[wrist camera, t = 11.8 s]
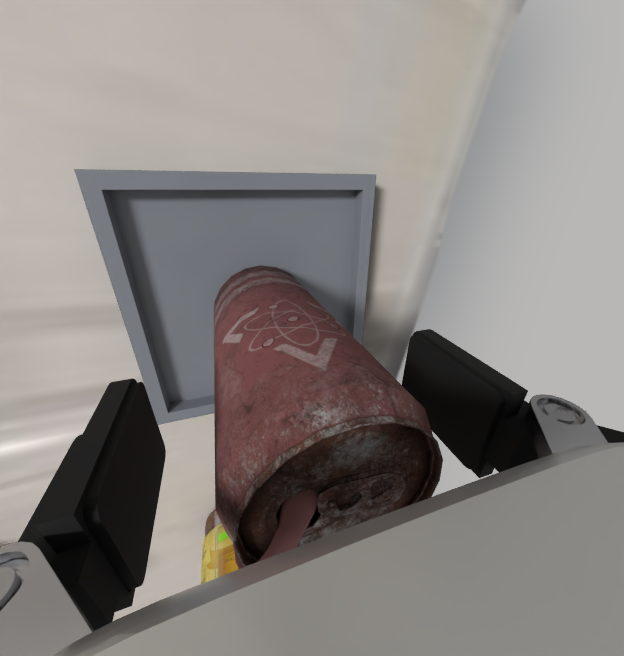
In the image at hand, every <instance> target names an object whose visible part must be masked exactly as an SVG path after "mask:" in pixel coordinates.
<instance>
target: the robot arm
mask: <svg viewBox="0 0 624 656" xmlns="http://www.w3.org/2000/svg"><path fill="white" fill-rule="evenodd" d="M402 386H403V387H404V388H405V389H406V390H407V391H408V392H409V393H410V394H411V395H412V396H413V397H414V398H415V399H416V400H417V401H418V402H419V403H420V404H421V405H422V406H423V407H424V408H425V411H426V414H427V417H428V421H429V424H430V427H431V430H432V431H433V432H434V433H435V434H436V435H437V436H438V437H439V439H440V440H441V441H442V442H443V443H444V444H445V445H446V446H447V447H448V448H449V450H450V451H451V452H452V453H453V454H454V455H455V456H456V457H457V458H458V459H459V460H460V461H461V462H462V464H463V465H464V466H465V467H467V468H468V469H471V470H472V471H473V472H474V473H475V474H476V475H477V476H478V477H479V478H481V477H484V476H486V475H489V474H492V472H493V470H494V468H495V469H496V470H497V471H498V472H499V473H497V474H494V475H491V476H489V477H486V478H483V479H480V480H478V481H475V482H472V483H469V484H466V485H464V486H461V487H458V488H455V489H452V490H450V491H447V492H445V493H442V494H439V495H436V496H434V497H431V498H428V499H425V500H423V501H420V502H417V503H414V504H412V505H409V506H406V507H404V508H401V509H398V510H395V511H393V512H390V513H387V514H385V515H382V516H379V517H377V518H374V519H371V520H368V521H366V522H363V523H360V524H358V525H355V526H352V527H350V528H347V529H344V530H342V531H339V532H336V533H334V534H331V535H328V536H326V537H323V538H320V539H318V540H315V541H312V542H310V543H307V544H304V545H302V546H299V547H296V548H294V549H291V550H288V551H286V552H283V553H280V554H278V555H275V556H272V557H270V558H267V559H264V560H262V561H259V562H256V563H254V564H251V565H248V566H246V567H243V568H241V569H238V570H236V571H233V572H230V573H228V574H225V575H223V576H220V577H218V578H215V579H213V580H210V581H208V582H205V583H203V584H200V585H198V586H195V587H193V588H190V589H188V590H185V591H182V592H180V593H177V594H175V595H172V596H170V597H167V598H165V599H162V600H160V601H158V602H155V603H153V604H151V605H149V606H146V607H144V608H142V609H140V610H137V611H135V612H133V613H131V614H128V615H126V616H124V617H122V618H119V619H117V620H115V621H113V616H114V612H116V611H119V610H122V609H124V608H127V607H130V606H132V602H133V597H134V592H135V588H136V587H139V586H141V585H142V584H143V581H144V578H145V573H146V567H147V561H148V555H149V549H150V544H151V538H152V532H153V526H154V520H155V515H156V509H157V503H158V497H159V491H160V486H161V480H162V474H163V468H164V462H165V445H164V442H163V439H162V436H161V433H160V430H159V427H158V424H157V421H156V418H155V415H154V412H153V409H152V406H151V403H150V401H149V398H148V395H147V392H146V389H145V386H144V384H143V383H142V382H139V383H137V382H136V380H135V379H128V380H122V381H116V382H111V383H110V384H109V385H108V387H107V389H106V391H105V393H104V395H103V397H102V399H101V400H100V402H99V404H98V406H97V408H96V410H95V412H94V414H93V416H92V418H91V419H90V421H89V423H88V425H87V427H86V429H85V431H84V433H83V435H80V436H78V437H76V439H75V440H74V441H73V443H72V445H71V446H70V448H69V450H68V452H67V454H66V456H65V457H64V459H63V461H62V463H61V465H60V466H59V468H58V470H57V472H56V474H55V476H54V477H53V479H52V481H51V483H50V485H49V486H48V488H47V490H46V492H45V494H44V496H43V497H42V499H41V501H40V503H39V505H38V506H37V508H36V510H35V512H34V514H33V516H32V517H31V519H30V521H29V523H28V525H27V526H26V528H25V530H24V532H23V534H22V536H21V537H20V539H19V541H18V542H17V543H12V544H7V545H4V546H2V547H0V656H624V432H620V431H616V430H613V429H609V428H605V427H601V426H597V425H596V424H595V423H594V421H593V419H592V418H591V417H590V416H589V415H588V414H587V412H586V411H584V410H583V409H581V408H580V407H579V406H577V405H575V404H573V403H571V402H569V401H567V400H564V399H562V398H559V397H555V396H551V395H536V396H533V397H532V398H531V400H530V402H529V403H527V402H526V401H524V399H525V396H526V394H527V392H528V391H527V390H526V389H524V388H523V387H521V386H519V385H518V384H516V383H515V382H513V381H512V380H510V379H509V378H507V377H505V376H504V375H502V374H500V373H499V372H498V371H496V370H494V369H493V368H491V367H489V366H488V365H486V364H485V363H483V362H482V361H480V360H479V359H477V358H475V357H474V356H472V355H471V354H469V353H467V352H466V351H464V350H463V349H461V348H460V347H458V346H456V345H455V344H453V343H452V342H450V341H449V340H447V339H445V338H443V337H442V336H440V335H439V334H437V333H436V332H434V331H433V330H430V329H429V330H422V331H416V332H415V333H414V334H413V336H411V338H410V342H409V347H408V353H407V358H406V364H405V370H404V376H403V381H402ZM112 621H113V622H112Z"/></svg>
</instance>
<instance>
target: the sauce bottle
mask: <svg viewBox="0 0 624 656" xmlns="http://www.w3.org/2000/svg"><path fill="white" fill-rule="evenodd" d="M236 570H238V566H237V564H236V561H235V551H234V547H233V542H232V541H231V539H230V538H229V536H228V535H227V533H226V532H225V530H224V527H223V525H222V523H221V521H220V519H219V517H218V515H217V513H216V510H215V511H213V512H212V513H211V514H210V515H209V517H208V518H207V521H206V526H205V539H204V542H203V549H202V567H201V584H203V583H205V582H208V581H210V580H213V579H215V578H218V577H220V576H223V575H225V574H228V573H230V572H233V571H236Z"/></svg>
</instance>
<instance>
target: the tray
mask: <svg viewBox="0 0 624 656" xmlns="http://www.w3.org/2000/svg"><path fill="white" fill-rule="evenodd" d="M74 170H75V173H76V176H77V179H78V182H79V185H80V188H81V192H82V195H83V198H84V201H85V204H86V207H87V210H88V213H89V216H90V219H91V222H92V225H93V228H94V231H95V234H96V237H97V240H98V244H99V247H100V250H101V253H102V256H103V259H104V262H105V265H106V268H107V271H108V274H109V277H110V280H111V283H112V286H113V289H114V292H115V296H116V299H117V302H118V305H119V308H120V311H121V314H122V317H123V320H124V323H125V326H126V329H127V332H128V335H129V338H130V341H131V344H132V348H133V351H134V354H135V357H136V360H137V363H138V366H139V369H140V372H141V375H142V378H143V381H144V384H145V387H146V390H147V393H148V396H149V400H150V403H151V406H152V409H153V412H154V415H155V418H156V421H157V424H158V425H160V424H164V423H169V422H174V421H178V420H183V419H188V418H193V417H197V416H202V415H207V414H211V413H215V404H214V302H215V299H216V297H217V295H218V292H219V290H220V288H221V287H222V286H223V285H224V283H225V282H226V281H227V280H228V279H229V278H230V277H231V276H232V275H234V274H236V273H238V272H240V271H242V270H243V269H245V268H250V267H255V266H261V265H262V266H270V267H277V268H279V269H281V270H283V271H285V272H287V273H289V274H291V275H292V276H293V277H294V278H295V279H296V280H297V281H298V282H299V283H300V284H301V285H302V286H303V287H304V288H305V289H306V290H307V291H308V292H309V293H310V294H311V295H312V296H313V297H314V298H315V299H316V300H317V301H318V302H319V303H320V304H321V305H322V306H323V307H324V308H325V309H326V310H327V311H328V312H329V313H330V314H331V315H332V316H333V317H334V318H335V319H336V320H337V321H338V322H339V323H340V324H341V325H342V326H343V327H344V328H345V329H346V330H347V331H348V332H349V333H350V334H351V335H352V336H353V337H354V338H355V339H356V340H357V341H358V342H359V343H360V344H361V345H362V339H363V327H364V315H365V303H366V291H367V279H368V267H369V255H370V243H371V231H372V219H373V207H374V195H375V183H376V175H371V174H313V173H256V172H198V171H141V170H83V169H74Z"/></svg>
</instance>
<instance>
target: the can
mask: <svg viewBox="0 0 624 656" xmlns="http://www.w3.org/2000/svg"><path fill="white" fill-rule="evenodd" d="M214 404H215V503H216V513H217V515H218V517H219V519H220V521H221V523H222V525H223V527H224V530H225V532H226V533H227V535H228V536H229V538H230V539H231V541H232V542H233V547H234V551H235V561H236V564H237V566H238V569H241V568H243V567H246V566H248V565H251V564H254V563H256V562H259V561H262V560H264V559H267V558H270V557H272V556H275V555H278V554H280V553H283V552H286V551H288V550H291V549H294V548H296V547H299V546H302V545H304V544H307V543H310V542H312V541H315V540H318V539H320V538H323V537H326V536H328V535H331V534H334V533H336V532H339V531H342V530H344V529H347V528H350V527H352V526H355V525H358V524H360V523H363V522H366V521H368V520H371V519H374V518H377V517H379V516H382V515H385V514H387V513H390V512H393V511H395V510H398V509H401V508H404V507H406V506H409V505H412V504H414V503H417V502H420V501H423V500H425V499H428V498H431V496H432V494H433V492H434V490H435V488H436V486H437V484H438V482H439V480H440V474H441V468H442V462H443V459H442V455H441V452H440V449H439V445H438V442H437V441H436V440H435V439H434V437H433V435H432V431H431V427H430V424H429V421H428V417H427V414H426V411H425V408H424V407H423V406H422V405H421V404H420V403H419V402H418V401H417V400H416V399H415V398H414V397H413V396H412V395H411V394H410V393H409V392H408V391H407V390H406V389H405V388H404V387H403V386H402V385H401V384H400V383H399V382H398V381H397V380H396V379H395V378H394V377H393V376H392V375H391V374H390V373H389V372H388V371H387V370H386V369H385V368H384V367H383V366H382V365H381V364H380V363H379V362H378V361H377V360H376V359H375V358H374V357H373V356H372V355H371V354H370V353H369V352H368V351H367V350H366V349H365V348H364V347H363V346H362V345H361V344H360V343H359V342H358V341H357V340H356V339H355V338H354V337H353V336H352V335H351V334H350V333H349V332H348V331H347V330H346V329H345V328H344V327H343V326H342V325H341V324H340V323H339V322H338V321H337V320H336V319H335V318H334V317H333V316H332V315H331V314H330V313H329V312H328V311H327V310H326V309H325V308H324V307H323V306H322V305H321V304H320V303H319V302H318V301H317V300H316V299H315V298H314V297H313V296H312V295H311V294H310V293H309V292H308V291H307V290H306V289H305V288H304V287H303V286H302V285H301V284H300V283H299V282H298V281H297V280H296V279H295V278H294V277H293V276H292V275H291V274H289V273H287V272H285V271H283V270H281V269H279V268H277V267H270V266H262V265H261V266H255V267H250V268H245V269H243V270H242V271H240V272H238V273H236V274H234V275H232V276H231V277H230V278H229V279H228V280H227V281H226V282H225V283H224V285H223V286H222V287H221V288H220V290H219V292H218V295H217V297H216V299H215V302H214Z"/></svg>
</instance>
